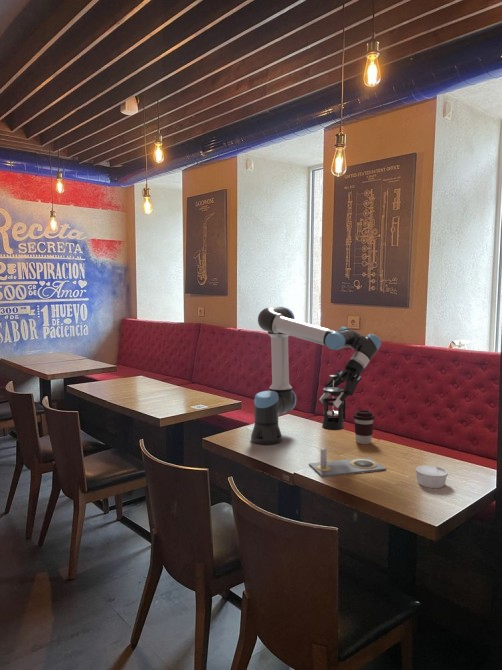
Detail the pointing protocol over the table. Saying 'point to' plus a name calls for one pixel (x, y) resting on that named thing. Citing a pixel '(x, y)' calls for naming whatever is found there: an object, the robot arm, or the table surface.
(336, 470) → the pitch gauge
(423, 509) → the table surface
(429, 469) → the ramekin
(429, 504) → the table surface
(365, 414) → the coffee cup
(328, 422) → the french press
